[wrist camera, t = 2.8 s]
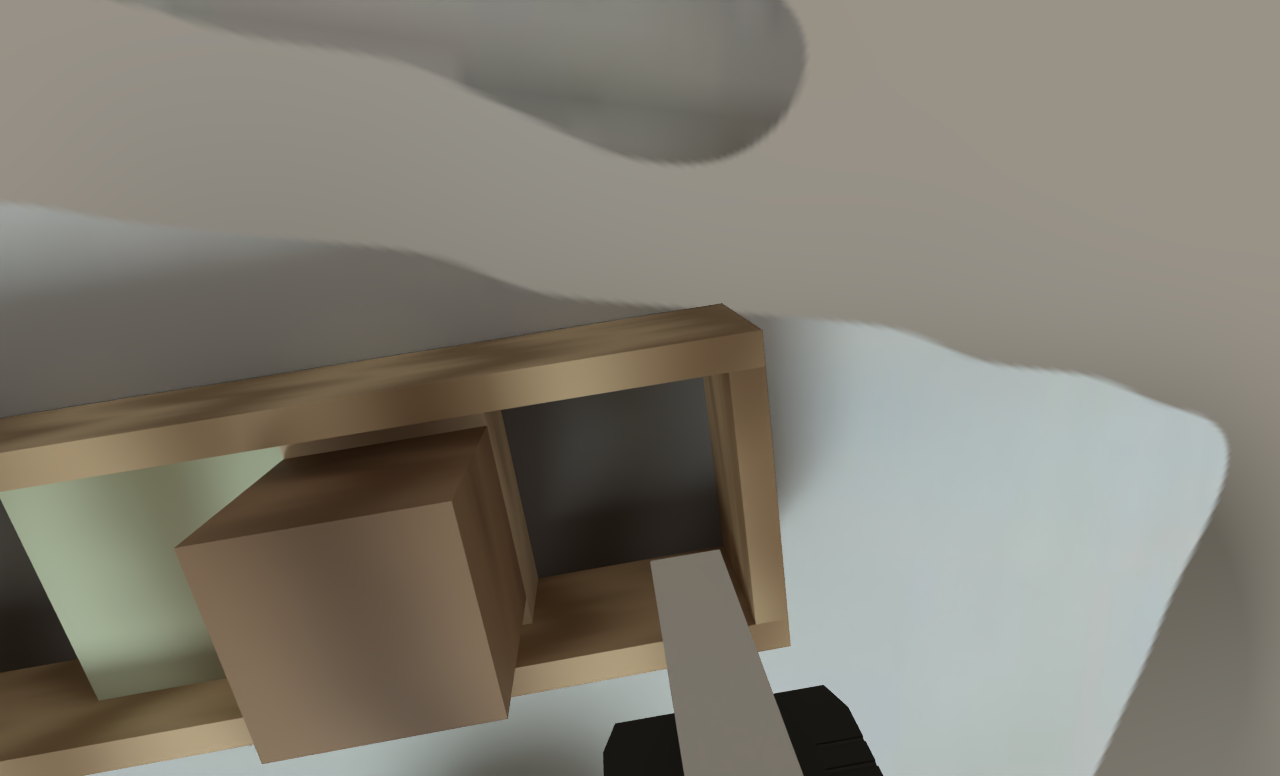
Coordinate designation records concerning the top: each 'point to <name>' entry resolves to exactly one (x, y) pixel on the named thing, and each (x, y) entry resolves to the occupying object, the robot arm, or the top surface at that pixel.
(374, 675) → the walnut block
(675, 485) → the wooden cubby shelf
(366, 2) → the top surface
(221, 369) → the top surface
